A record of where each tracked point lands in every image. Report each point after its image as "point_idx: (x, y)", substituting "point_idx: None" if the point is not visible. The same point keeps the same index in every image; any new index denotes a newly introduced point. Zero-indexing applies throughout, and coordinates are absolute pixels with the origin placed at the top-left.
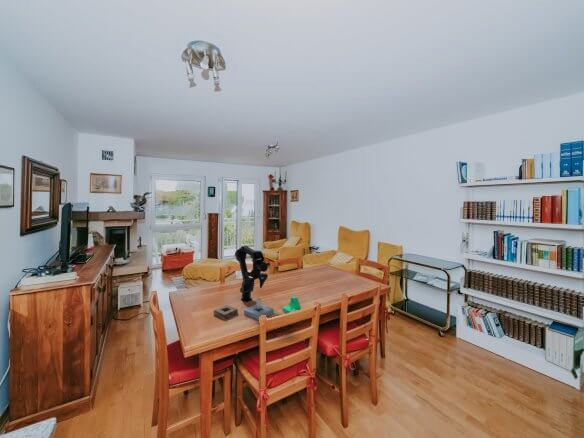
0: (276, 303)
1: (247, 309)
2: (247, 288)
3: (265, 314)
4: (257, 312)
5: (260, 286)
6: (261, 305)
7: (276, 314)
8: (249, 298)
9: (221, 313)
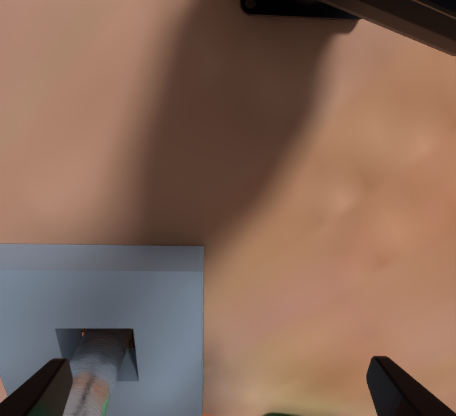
0: (377, 310)
1: (2, 286)
2: None
3: None
4: None
5: (391, 404)
6: (182, 324)
7: None
8: (318, 3)
9: None
